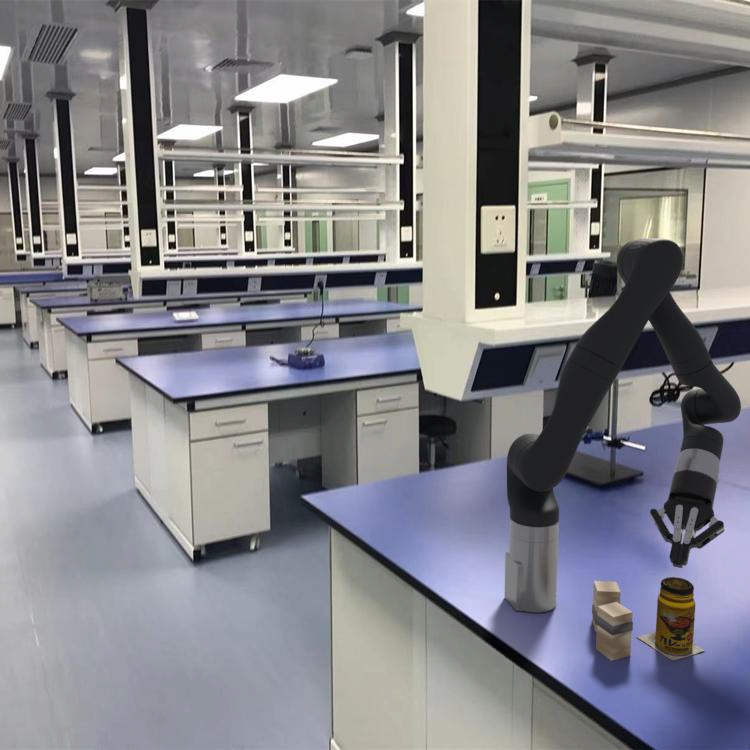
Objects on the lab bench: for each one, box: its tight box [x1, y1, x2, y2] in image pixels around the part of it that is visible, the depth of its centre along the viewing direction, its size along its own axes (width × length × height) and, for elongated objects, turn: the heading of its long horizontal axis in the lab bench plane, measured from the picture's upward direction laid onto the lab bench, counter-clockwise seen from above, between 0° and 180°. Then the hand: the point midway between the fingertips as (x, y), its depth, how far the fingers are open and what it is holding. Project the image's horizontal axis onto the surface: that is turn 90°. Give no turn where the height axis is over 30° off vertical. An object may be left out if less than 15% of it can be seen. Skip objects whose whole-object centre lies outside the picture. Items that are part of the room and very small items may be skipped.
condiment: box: [636, 576, 705, 662], centre depth 128 cm, size 7×8×12 cm
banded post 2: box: [595, 602, 634, 662], centre depth 126 cm, size 4×4×8 cm
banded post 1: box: [591, 580, 621, 633], centre depth 135 cm, size 4×4×8 cm
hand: (677, 565), depth 129 cm, fingers closed
